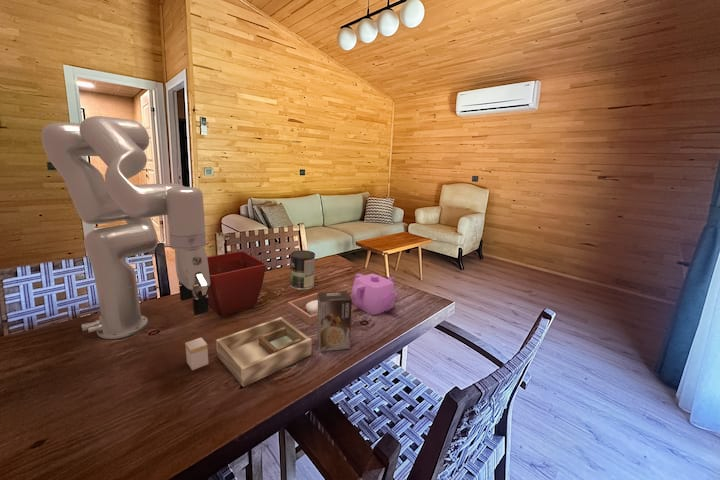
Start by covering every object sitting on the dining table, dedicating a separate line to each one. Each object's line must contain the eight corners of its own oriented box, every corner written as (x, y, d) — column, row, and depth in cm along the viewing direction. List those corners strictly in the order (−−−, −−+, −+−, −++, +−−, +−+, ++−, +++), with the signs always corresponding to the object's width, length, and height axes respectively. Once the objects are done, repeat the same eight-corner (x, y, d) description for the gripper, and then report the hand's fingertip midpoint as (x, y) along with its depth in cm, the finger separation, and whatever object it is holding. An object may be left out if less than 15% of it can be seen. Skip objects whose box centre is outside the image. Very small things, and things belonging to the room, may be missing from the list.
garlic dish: (310, 325, 106) (310, 317, 105) (287, 309, 115) (287, 302, 114) (340, 313, 115) (341, 305, 114) (317, 299, 124) (318, 292, 124)
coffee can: (291, 290, 131) (291, 258, 127) (288, 281, 140) (289, 250, 136) (316, 289, 134) (317, 257, 130) (312, 279, 143) (313, 249, 140)
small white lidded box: (192, 370, 81) (190, 350, 80) (186, 362, 84) (184, 342, 83) (208, 363, 84) (207, 344, 83) (203, 356, 87) (201, 337, 85)
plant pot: (193, 303, 116) (190, 259, 111) (244, 290, 129) (243, 250, 124) (213, 324, 103) (210, 276, 98) (267, 308, 115) (267, 264, 111)
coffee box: (345, 337, 100) (348, 290, 96) (350, 349, 94) (353, 299, 90) (316, 340, 98) (317, 292, 94) (319, 352, 92) (320, 301, 88)
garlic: (322, 305, 121) (322, 296, 120) (331, 312, 115) (331, 303, 114) (302, 309, 116) (303, 300, 115) (311, 318, 111) (311, 308, 110)
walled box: (243, 387, 77) (242, 369, 76) (217, 355, 88) (216, 339, 86) (311, 354, 91) (311, 339, 89) (281, 331, 101) (281, 316, 100)
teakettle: (352, 294, 131) (353, 266, 128) (393, 297, 131) (396, 269, 128) (348, 314, 115) (350, 282, 112) (395, 318, 114) (399, 286, 111)
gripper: (219, 246, 72) (223, 314, 77) (192, 230, 84) (197, 290, 88) (183, 251, 67) (190, 324, 72) (160, 234, 79) (167, 298, 83)
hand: (194, 305), depth 80 cm, fingers open, 9 cm apart
